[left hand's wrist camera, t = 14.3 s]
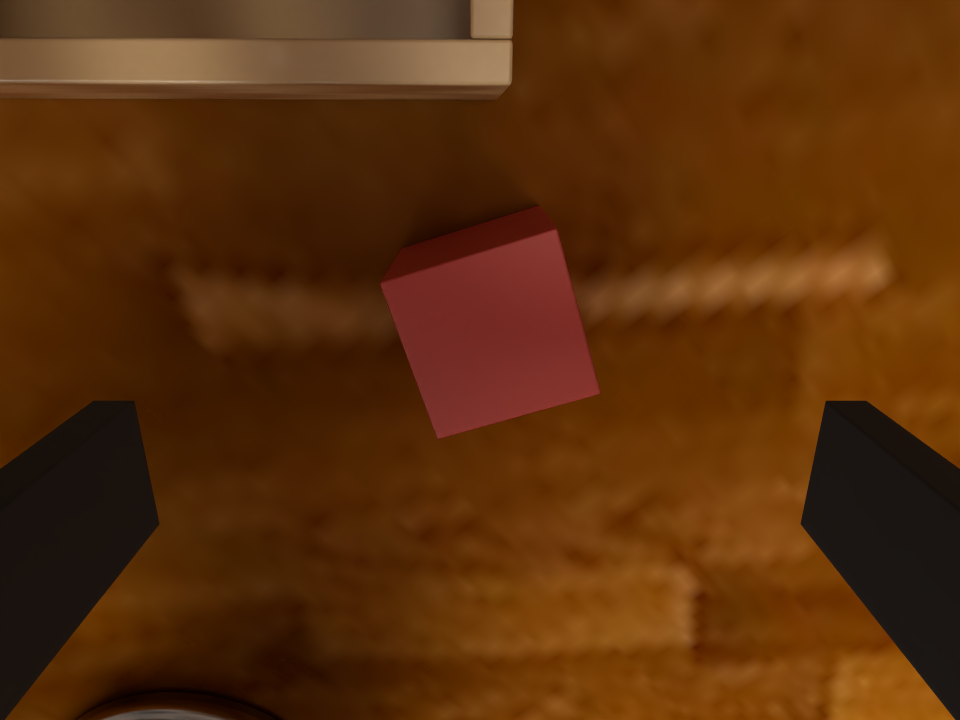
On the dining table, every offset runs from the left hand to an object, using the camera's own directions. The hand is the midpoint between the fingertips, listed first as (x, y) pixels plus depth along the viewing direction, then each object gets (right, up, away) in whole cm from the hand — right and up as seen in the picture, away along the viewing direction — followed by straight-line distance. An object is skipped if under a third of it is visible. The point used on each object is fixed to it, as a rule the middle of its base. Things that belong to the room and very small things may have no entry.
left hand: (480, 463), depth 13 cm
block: (0, +4, +12) cm, 13 cm away
